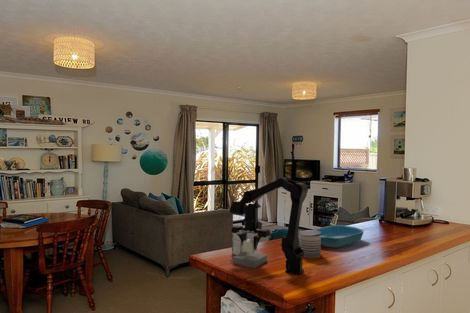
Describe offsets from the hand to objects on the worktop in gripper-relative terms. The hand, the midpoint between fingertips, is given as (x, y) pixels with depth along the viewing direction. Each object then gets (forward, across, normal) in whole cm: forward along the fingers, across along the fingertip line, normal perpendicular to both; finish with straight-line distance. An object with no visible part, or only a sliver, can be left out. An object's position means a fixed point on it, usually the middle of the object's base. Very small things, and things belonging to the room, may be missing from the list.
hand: (250, 248), depth 170 cm
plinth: (+6, 0, 0) cm, 6 cm away
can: (+7, -20, -28) cm, 35 cm away
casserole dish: (+7, -25, -62) cm, 67 cm away
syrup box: (+7, +11, -9) cm, 16 cm away
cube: (+1, 0, 0) cm, 1 cm away
